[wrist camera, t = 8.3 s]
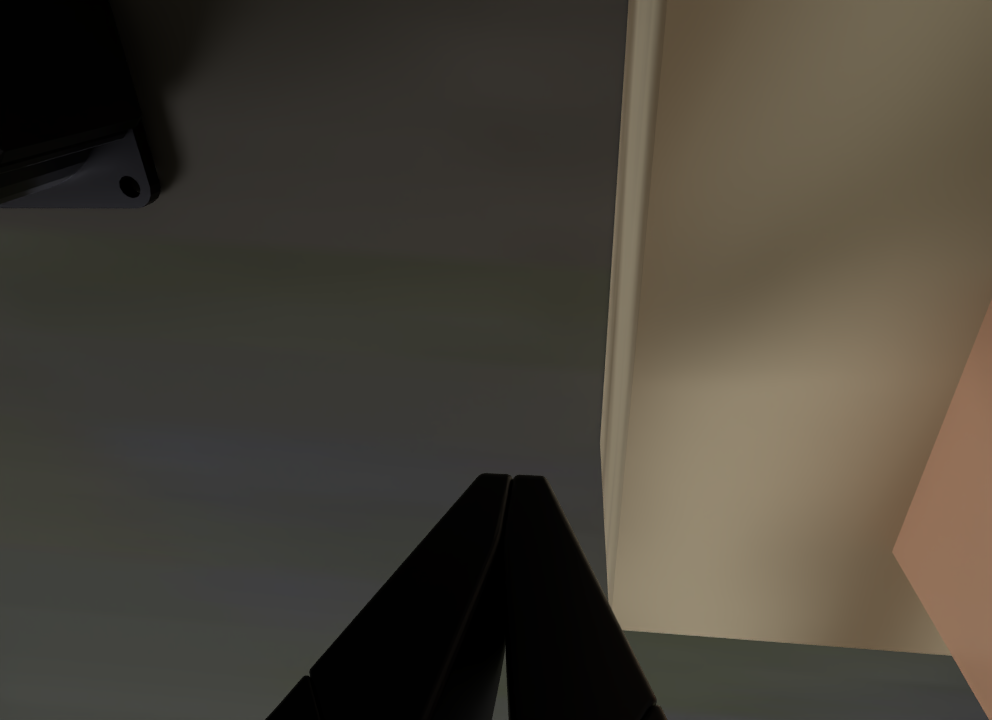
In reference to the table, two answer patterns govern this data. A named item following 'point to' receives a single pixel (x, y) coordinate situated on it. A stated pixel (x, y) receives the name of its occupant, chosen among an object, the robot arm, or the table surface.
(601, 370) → the table surface
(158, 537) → the table surface
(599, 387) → the table surface
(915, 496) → the tan clay block
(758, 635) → the beige elongated piece
